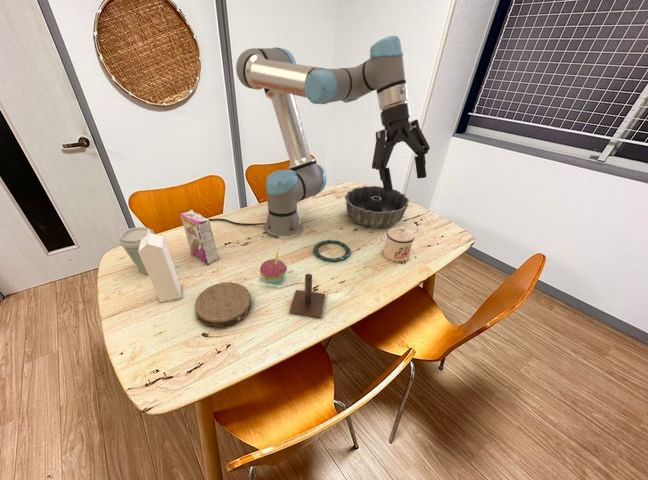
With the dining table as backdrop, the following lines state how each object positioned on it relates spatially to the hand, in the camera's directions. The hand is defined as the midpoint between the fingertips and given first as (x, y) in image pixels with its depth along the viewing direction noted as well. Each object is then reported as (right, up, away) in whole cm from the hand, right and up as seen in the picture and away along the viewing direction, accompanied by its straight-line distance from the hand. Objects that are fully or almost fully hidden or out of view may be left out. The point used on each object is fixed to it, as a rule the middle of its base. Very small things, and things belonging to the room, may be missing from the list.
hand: (405, 184), depth 83 cm
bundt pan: (+2, -3, +41) cm, 41 cm away
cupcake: (-40, -29, +9) cm, 50 cm away
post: (-29, -36, 0) cm, 46 cm away
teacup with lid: (+5, -20, +19) cm, 28 cm away
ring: (-19, -19, +20) cm, 33 cm away
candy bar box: (-67, -21, +20) cm, 73 cm away
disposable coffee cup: (-84, -26, +15) cm, 89 cm away
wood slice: (-54, -37, 0) cm, 65 cm away
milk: (-72, -33, +5) cm, 80 cm away
